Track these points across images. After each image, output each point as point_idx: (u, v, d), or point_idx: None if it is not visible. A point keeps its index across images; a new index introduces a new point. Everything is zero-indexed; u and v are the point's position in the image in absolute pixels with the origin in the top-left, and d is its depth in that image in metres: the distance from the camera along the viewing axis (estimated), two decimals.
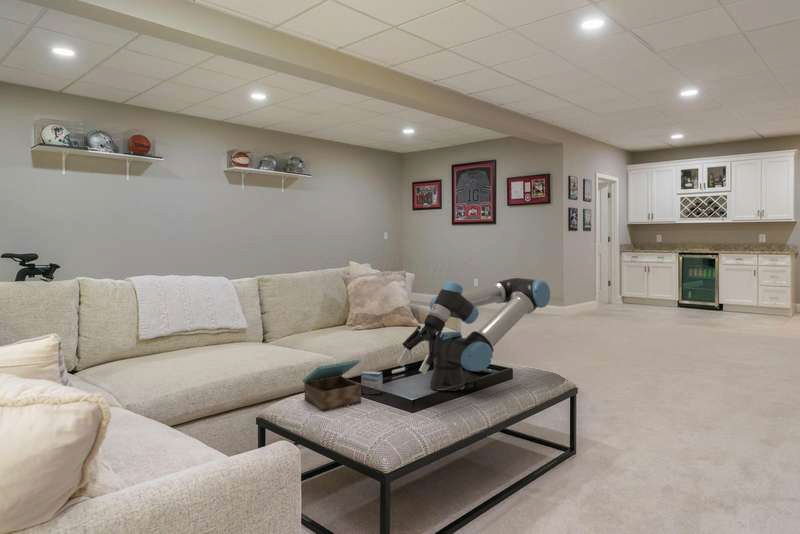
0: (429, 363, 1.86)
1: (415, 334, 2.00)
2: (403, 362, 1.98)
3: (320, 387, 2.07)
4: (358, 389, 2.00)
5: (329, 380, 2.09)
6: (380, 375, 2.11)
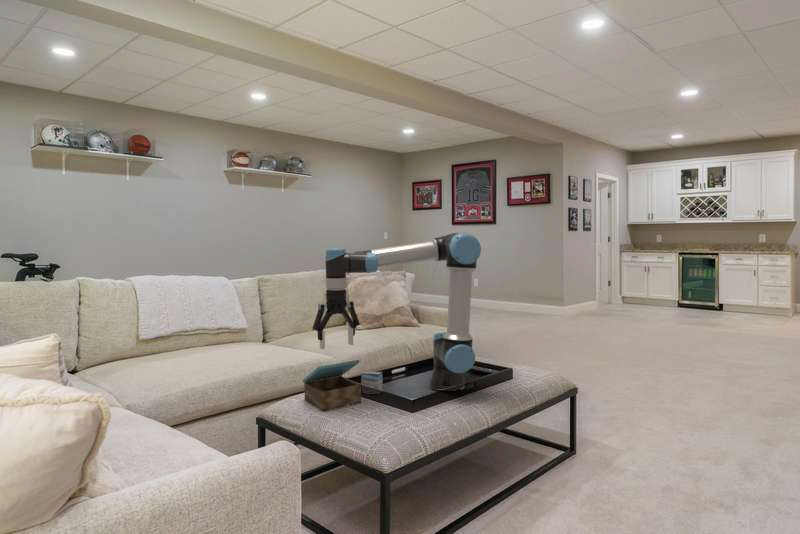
0: (318, 338, 1.93)
1: (349, 310, 2.01)
2: (350, 341, 2.00)
3: (320, 387, 2.07)
4: (358, 389, 2.00)
5: (329, 380, 2.09)
6: (380, 375, 2.11)
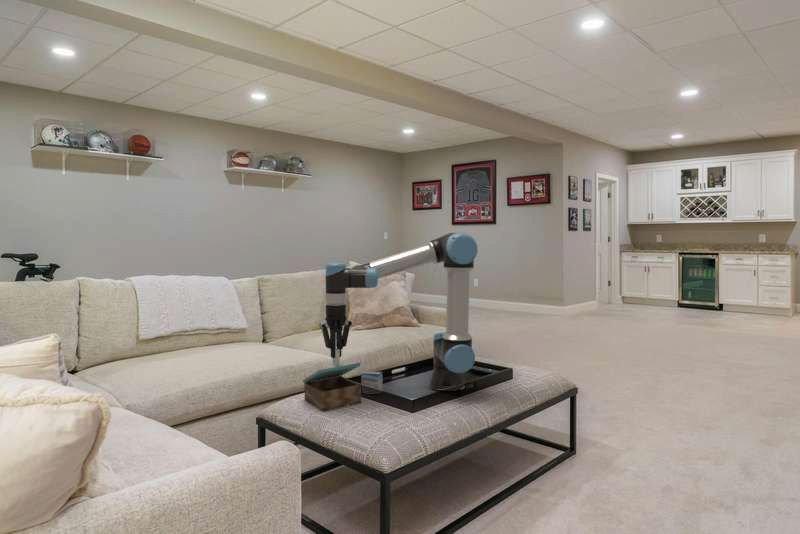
0: (331, 356, 1.97)
1: (344, 328, 2.00)
2: None
3: (320, 387, 2.07)
4: (358, 389, 2.00)
5: (329, 380, 2.09)
6: (380, 375, 2.11)
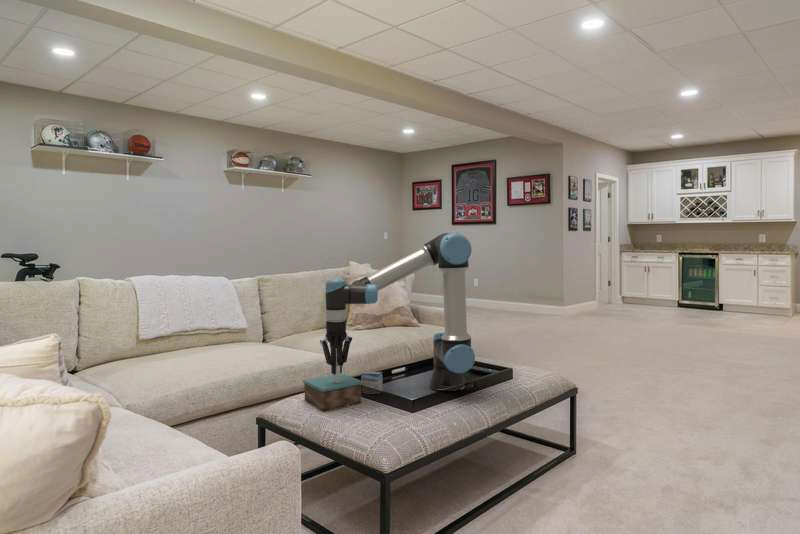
0: (332, 372, 1.97)
1: (344, 344, 2.00)
2: None
3: None
4: (358, 389, 2.00)
5: None
6: (380, 375, 2.11)
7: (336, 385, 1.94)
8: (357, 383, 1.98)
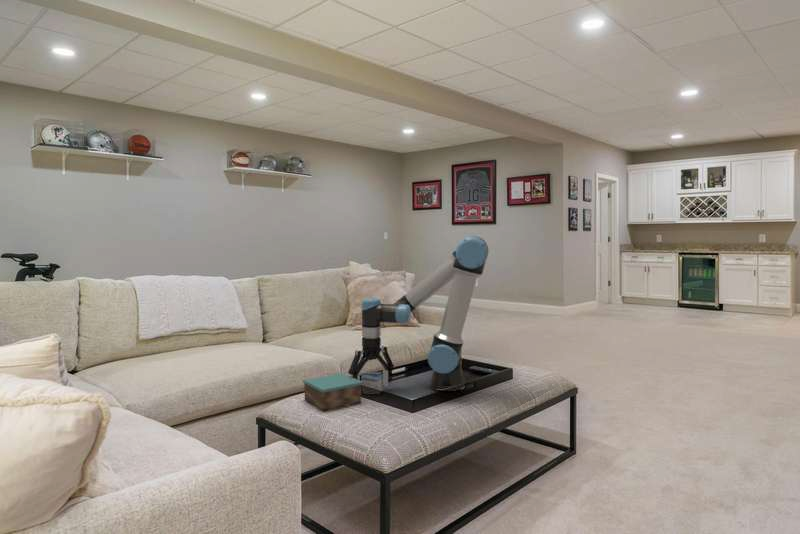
0: None
1: (383, 354, 2.16)
2: (385, 382, 2.16)
3: None
4: (358, 389, 2.00)
5: None
6: (380, 375, 2.11)
7: (336, 386, 1.94)
8: (357, 384, 1.98)
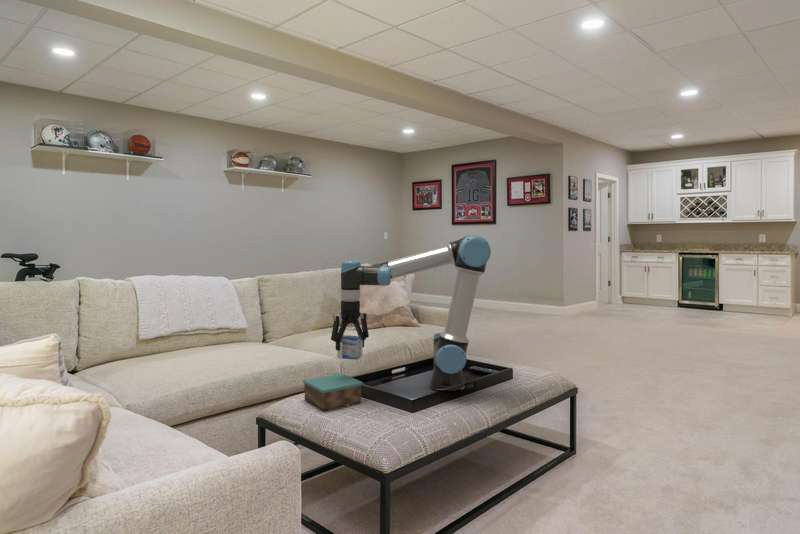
0: (336, 349, 2.03)
1: (361, 321, 2.09)
2: None
3: None
4: (358, 389, 2.00)
5: None
6: (358, 339, 2.04)
7: (336, 386, 1.94)
8: (357, 384, 1.98)
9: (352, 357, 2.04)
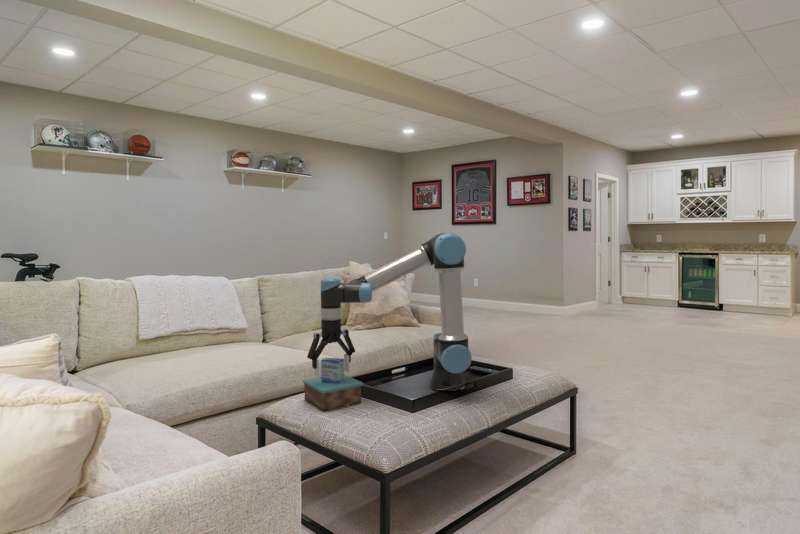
0: (313, 367, 1.97)
1: (345, 338, 2.05)
2: (346, 368, 2.05)
3: None
4: (358, 389, 2.00)
5: None
6: (340, 362, 2.00)
7: (336, 387, 1.94)
8: (357, 385, 1.98)
9: (334, 380, 1.99)
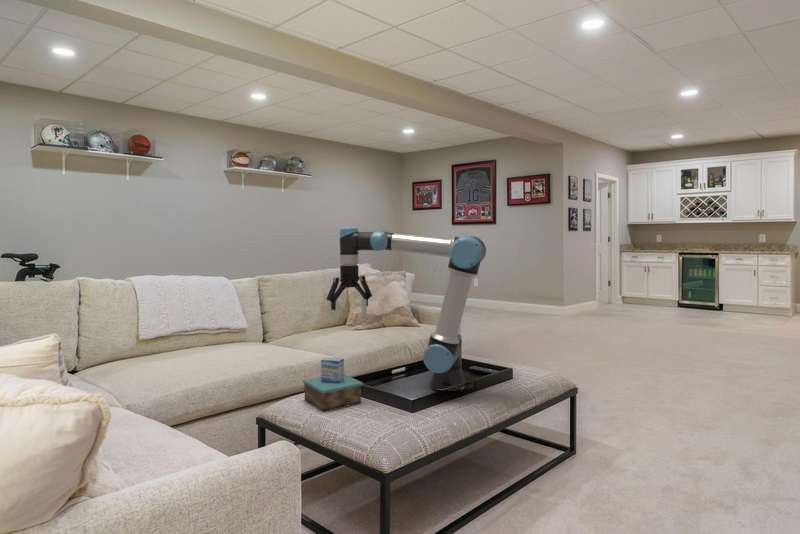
0: (332, 308, 2.12)
1: (362, 284, 2.20)
2: (364, 311, 2.20)
3: None
4: (358, 389, 2.00)
5: None
6: (340, 362, 2.00)
7: (336, 387, 1.94)
8: (357, 385, 1.98)
9: (334, 380, 1.99)
